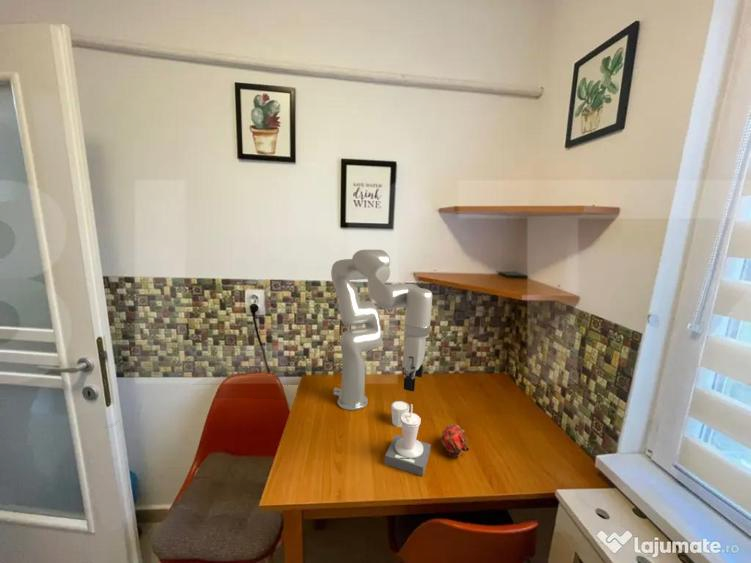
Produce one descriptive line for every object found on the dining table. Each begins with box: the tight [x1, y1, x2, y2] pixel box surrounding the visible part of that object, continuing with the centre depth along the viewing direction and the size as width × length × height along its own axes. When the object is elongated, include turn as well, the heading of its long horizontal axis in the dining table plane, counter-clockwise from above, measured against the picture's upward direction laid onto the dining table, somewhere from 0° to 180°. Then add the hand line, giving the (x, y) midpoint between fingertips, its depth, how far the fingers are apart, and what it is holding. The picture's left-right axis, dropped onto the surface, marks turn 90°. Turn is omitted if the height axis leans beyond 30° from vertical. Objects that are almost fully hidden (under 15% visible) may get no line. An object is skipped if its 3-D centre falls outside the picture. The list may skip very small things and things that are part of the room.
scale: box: [384, 434, 432, 477], centre depth 99 cm, size 12×11×4 cm
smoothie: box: [400, 403, 422, 450], centre depth 98 cm, size 6×6×14 cm
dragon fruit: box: [440, 423, 470, 458], centre depth 104 cm, size 8×8×12 cm
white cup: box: [390, 400, 410, 428], centre depth 117 cm, size 7×7×7 cm
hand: (413, 382), depth 96 cm, fingers open, 9 cm apart
